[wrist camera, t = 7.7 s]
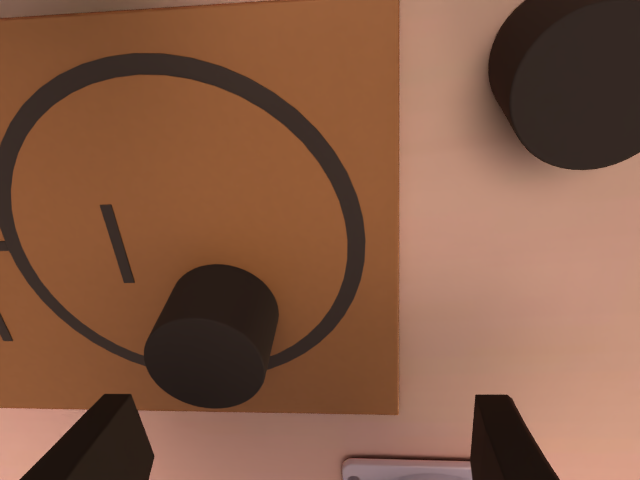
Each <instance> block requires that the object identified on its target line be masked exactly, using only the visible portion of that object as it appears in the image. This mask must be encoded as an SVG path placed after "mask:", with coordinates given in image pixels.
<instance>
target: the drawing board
mask: <svg viewBox="0 0 640 480" xmlns="http://www.w3.org/2000/svg"><path fill="white" fill-rule="evenodd" d="M212 264H223V265H230V266H234V267H238V268H240V269H243V270H246V271H248V272H250V273H251V274H253V275H255V276H256V277H258V278H259V279H260V280H261V281H263V282H264V283H265V284H266V285H267V287H268V288H269V289H270V290H271V292H272V294H273V295H274V297H275V299H276V302H277V305H278V310H279V318H278V324H277V328H276V332H275V337H274V341H273V345H272V350H271V354H270V358H269V363H268V367H267V371H266V376H265V380H264V383H263V385H262V387H261V388H260V390H259V391H258V392H257V393H256V394H255V395H254V396H253V397H252V398H251V399H249V400H248V401H246V402H244V403H242V404H240V405H237V406H234V407H229V408H222V409H211V408H202V407H197V406H193V405H190V404H187V403H184V402H182V401H180V400H178V399H176V398H174V397H172V396H171V395H169V394H168V393H166V392H165V391H164V390H162V389H161V388H160V387H159V386H158V385H157V384H156V383H155V382H154V380H153V379H152V378H151V376H150V374H149V373H148V371H147V368H146V366H145V362H144V347H145V343H146V341H147V339H148V337H149V335H150V333H151V331H152V329H153V327H154V325H155V323H156V321H157V319H158V317H159V315H160V314H161V312H162V310H163V308H164V306H165V304H166V302H167V300H168V298H169V296H170V294H171V292H172V290H173V288H174V286H175V284H176V283H177V281H178V280H179V279H180V278H181V277H182V276H183V275H184V274H186V273H187V272H189V271H191V270H193V269H195V268H197V267H200V266H205V265H212ZM104 394H131V395H132V397H133V400H134V403H135V405H136V408H137V410H149V411H206V412H262V413H319V414H375V415H398V414H399V0H275V1H260V2H244V3H229V4H213V5H198V6H183V7H167V8H152V9H136V10H121V11H106V12H90V13H75V14H59V15H44V16H29V17H13V18H0V408H36V409H90V408H91V407H92V406H93V405H94V404H95V403H96V402H97V401H98V400H99V399H100V398H101V397H102V396H103V395H104Z"/></svg>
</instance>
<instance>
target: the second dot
mask: <svg viewBox="0 0 640 480" xmlns="http://www.w3.org/2000/svg"><path fill="white" fill-rule="evenodd" d="M489 80H490V85H491V89H492V92H493V94H494V96H495V99H496V100H497V102H498V104H499V106H500V107H501V109H502V111H503V113H504V114H505V116H506V118H507V120H508V121H509V123H510V125H511V126H512V128H513V130H514V132H515V133H516V135H517V137H518V138H519V140H520V142H521V143H522V144H523V145H524V146H525V148H526V149H527V150H528V151H529V152H530V153H532V154H533V155H534V156H535V157H537V158H539V159H540V160H542V161H543V162H546V163H548V164H550V165H553V166H556V167H560V168H565V169H571V170H590V169H598V168H603V167H607V166H610V165H614V164H617V163H619V162H622V161H624V160H626V159H629V158H630V157H632V156H634V155H636V154H638V153H639V152H640V0H526V1H524V2H523V3H522V4H521V5H520V6H519V7H517V8H516V9H515V10H514V11H513V13H512V14H511V15H510V16H509V17H508V18H507V20H506V21H505V23H504V24H503V25H502V27H501V29H500V30H499V32H498V34H497V36H496V39H495V41H494V43H493V46H492V50H491V53H490V59H489Z"/></svg>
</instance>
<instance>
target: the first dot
mask: <svg viewBox="0 0 640 480" xmlns="http://www.w3.org/2000/svg"><path fill="white" fill-rule="evenodd" d="M278 318H279V310H278V305H277V302H276V299H275V297H274V295H273V294H272V292H271V290H270V289H269V288H268V287H267V285H266V284H265V283H264V282H263V281H261V280H260V279H259V278H258V277H256V276H255V275H253V274H251V273H250V272H248V271H246V270H243V269H240V268H238V267H234V266H230V265H223V264H212V265H205V266H200V267H197V268H195V269H193V270H191V271H189V272H187V273H186V274H184V275H183V276H182V277H181V278H180V279H179V280H178V281H177V283H176V284H175V286H174V288H173V290H172V292H171V294H170V296H169V298H168V300H167V302H166V304H165V306H164V308H163V310H162V312H161V314H160V315H159V317H158V319H157V321H156V323H155V325H154V327H153V329H152V331H151V333H150V335H149V337H148V339H147V341H146V343H145V347H144V362H145V366H146V368H147V371H148V373H149V374H150V376H151V378H152V379H153V380H154V382H155V383H156V384H157V385H158V386H159V387H160V388H161V389H162V390H164V391H165V392H166V393H168V394H169V395H171V396H172V397H174V398H176V399H178V400H180V401H182V402H184V403H187V404H190V405H193V406H197V407H202V408H211V409H222V408H229V407H234V406H237V405H240V404H242V403H244V402H246V401H248V400H249V399H251V398H252V397H253V396H254V395H255V394H256V393H257V392H258V391H259V390H260V388H261V387H262V385H263V383H264V380H265V376H266V371H267V367H268V363H269V358H270V354H271V350H272V345H273V341H274V337H275V332H276V328H277V324H278Z"/></svg>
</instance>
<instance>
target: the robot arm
mask: <svg viewBox="0 0 640 480" xmlns="http://www.w3.org/2000/svg"><path fill="white" fill-rule="evenodd" d="M153 460H154V453H153V451H152V448H151V445H150V443H149V440H148V437H147V435H146V432H145V429H144V427H143V424H142V421H141V419H140V416H139V413H138V411H137V408H136V405H135V403H134V400H133V397H132V395H131V394H104V395H103V396H102V397H101V398H100V399H99V400H98V401H97V402H96V403H95V404H94V405H93V406H92V407H91V408H90V409H89V410H88V411H87V412H86V413H85V414H84V415H83V416H82V417H81V418H80V419H79V420H78V421H77V422H76V423H75V424H74V425H73V426H72V427H71V428H70V429H69V430H68V431H67V432H66V433H65V434H64V435H63V437H62V438H61V439H60V440H59V441H58V442H57V443H56V444H55V445H54V446H53V447H52V448H51V449H50V450H49V451H48V452H47V453H46V454H45V455H44V456H43V457H42V458H41V459H40V460H39V461H38V462H37V463H36V464H35V465H34V466H33V467H32V468H31V469H30V470H29V471H28V472H27V473H26V474H25V475H24V476H23V477H22V478H21V479H20V480H149V476H150V472H151V468H152V464H153ZM342 477H343V480H560V479H559V478H558V476H557V475H556V473H555V472H554V470H553V469H552V467H551V466H550V464H549V462H548V461H547V459H546V458H545V456H544V455H543V453H542V451H541V450H540V448H539V446H538V445H537V443H536V441H535V440H534V438H533V436H532V435H531V433H530V431H529V430H528V428H527V426H526V424H525V422H524V421H523V419H522V417H521V415H520V413H519V411H518V409H517V408H516V406H515V404H514V402H513V400H512V398H510V397H509V396H508V395H475V407H474V419H473V432H472V444H471V456H470V461H441V460H403V459H366V458H350V459H347V460H345V461H344V462H343V465H342Z"/></svg>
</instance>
